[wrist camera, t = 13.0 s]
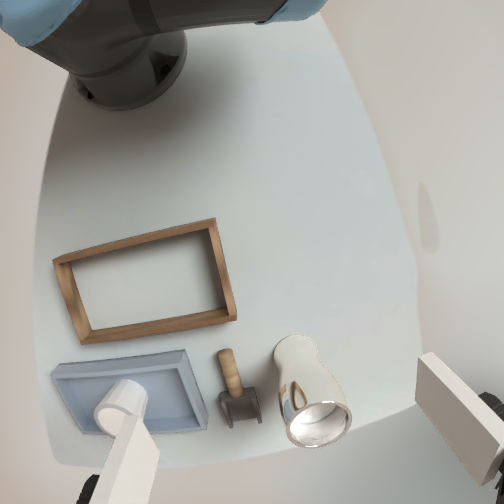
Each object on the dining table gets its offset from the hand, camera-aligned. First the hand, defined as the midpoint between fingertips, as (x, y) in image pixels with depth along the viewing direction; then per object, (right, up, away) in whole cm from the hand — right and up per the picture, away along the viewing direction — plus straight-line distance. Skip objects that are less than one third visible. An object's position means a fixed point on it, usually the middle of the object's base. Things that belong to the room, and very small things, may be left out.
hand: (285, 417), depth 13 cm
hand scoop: (-4, -12, +30) cm, 32 cm away
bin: (-20, -13, +29) cm, 38 cm away
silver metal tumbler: (+4, -6, +29) cm, 30 cm away
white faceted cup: (-19, -14, +29) cm, 37 cm away
